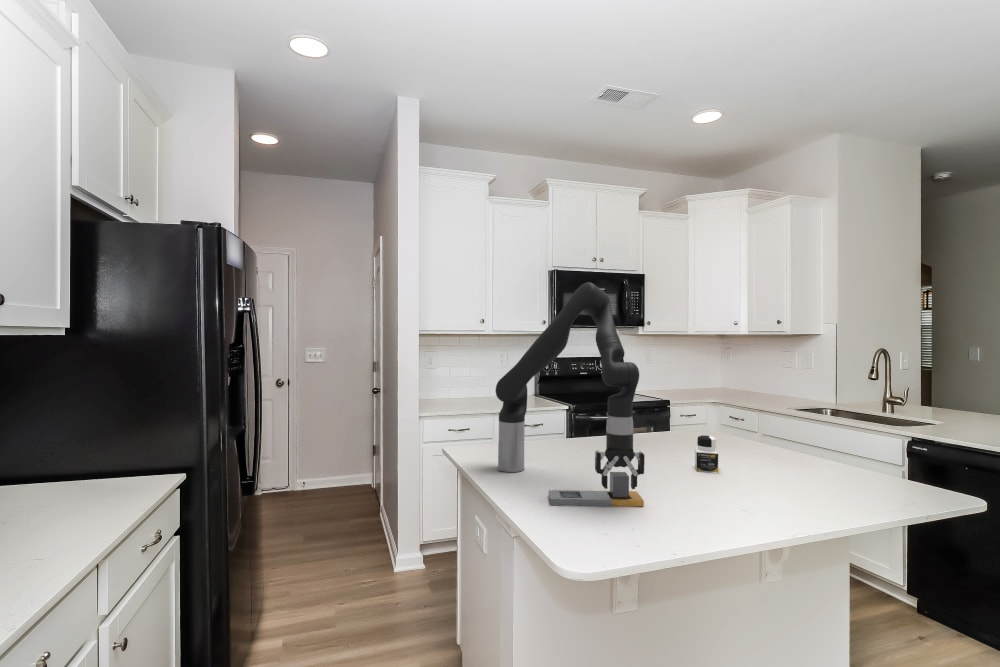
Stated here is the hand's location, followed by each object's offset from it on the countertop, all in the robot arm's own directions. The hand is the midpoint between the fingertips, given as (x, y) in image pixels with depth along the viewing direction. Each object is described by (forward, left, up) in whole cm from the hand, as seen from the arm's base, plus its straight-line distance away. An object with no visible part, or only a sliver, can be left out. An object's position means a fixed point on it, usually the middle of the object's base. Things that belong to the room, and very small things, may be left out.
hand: (619, 488), depth 145 cm
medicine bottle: (+39, +36, -4) cm, 53 cm away
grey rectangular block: (0, 0, -4) cm, 4 cm away
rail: (-7, 0, -4) cm, 8 cm away
